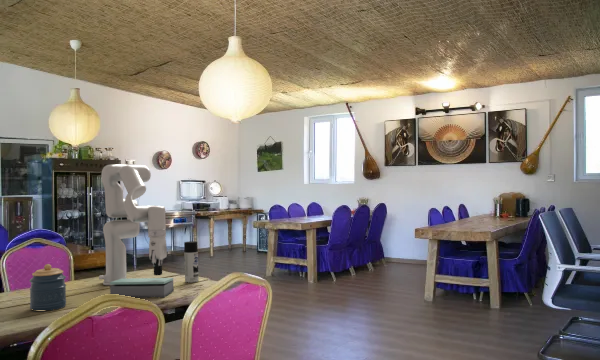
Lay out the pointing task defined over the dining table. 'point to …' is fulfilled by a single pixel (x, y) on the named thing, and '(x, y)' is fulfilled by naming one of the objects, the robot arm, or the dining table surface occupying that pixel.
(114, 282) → the cover
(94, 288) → the dining table surface
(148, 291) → the gray rectangular tray
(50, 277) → the canister
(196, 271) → the spray can
